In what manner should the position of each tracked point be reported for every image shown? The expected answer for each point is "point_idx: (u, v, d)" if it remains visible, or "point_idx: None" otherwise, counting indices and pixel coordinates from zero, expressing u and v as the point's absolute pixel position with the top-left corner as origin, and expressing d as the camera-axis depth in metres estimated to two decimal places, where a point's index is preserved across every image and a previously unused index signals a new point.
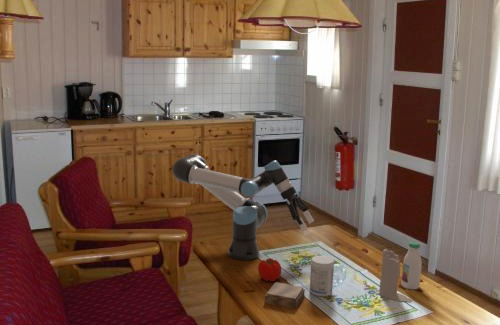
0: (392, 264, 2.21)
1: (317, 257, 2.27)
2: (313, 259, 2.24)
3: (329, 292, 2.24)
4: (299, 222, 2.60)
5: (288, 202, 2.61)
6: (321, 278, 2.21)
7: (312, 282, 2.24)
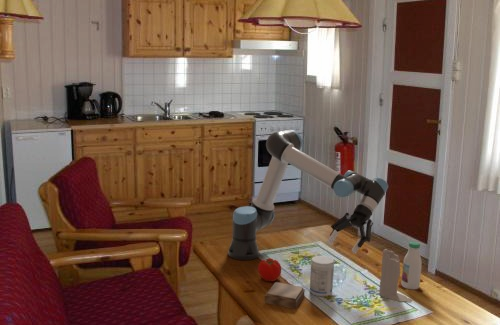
0: (392, 264, 2.21)
1: (317, 257, 2.27)
2: (313, 259, 2.24)
3: (329, 292, 2.24)
4: (361, 244, 2.26)
5: (371, 222, 2.31)
6: (321, 278, 2.21)
7: (312, 282, 2.24)
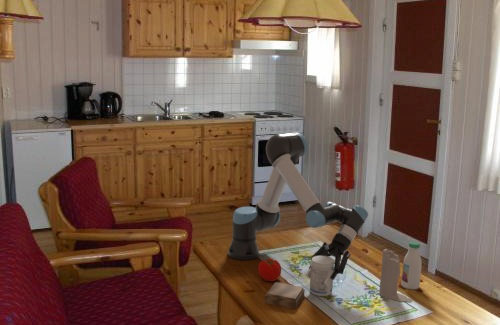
0: (392, 264, 2.21)
1: (317, 257, 2.27)
2: (313, 259, 2.24)
3: (329, 292, 2.24)
4: (334, 277, 2.21)
5: (348, 254, 2.24)
6: (321, 277, 2.21)
7: (312, 282, 2.24)
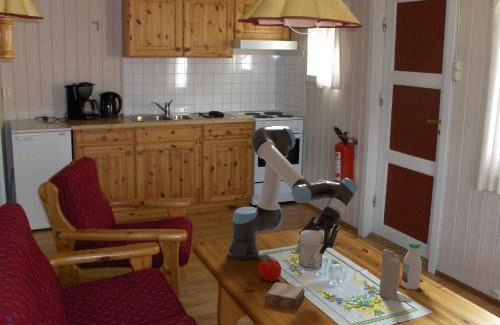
0: (392, 264, 2.21)
1: (306, 231, 2.20)
2: (302, 233, 2.18)
3: (319, 267, 2.17)
4: (323, 251, 2.14)
5: (338, 228, 2.18)
6: (311, 252, 2.15)
7: (301, 257, 2.17)
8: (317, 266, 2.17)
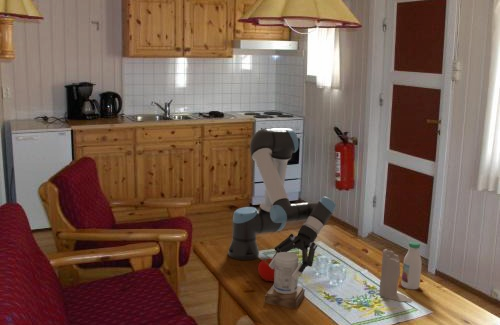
0: (392, 264, 2.21)
1: (281, 253, 2.18)
2: (277, 255, 2.16)
3: (293, 290, 2.15)
4: (302, 269, 2.11)
5: (315, 246, 2.15)
6: (285, 275, 2.12)
7: (276, 279, 2.15)
8: (292, 289, 2.14)
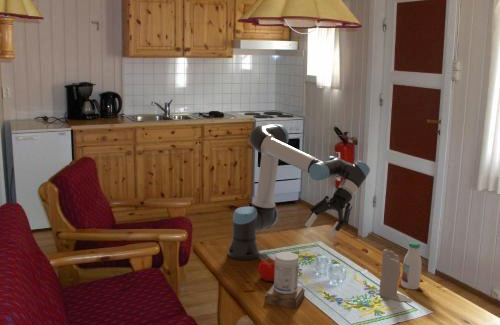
0: (392, 264, 2.21)
1: (281, 253, 2.18)
2: (277, 255, 2.16)
3: (293, 290, 2.15)
4: (339, 228, 2.22)
5: (350, 206, 2.26)
6: (285, 274, 2.12)
7: (276, 279, 2.15)
8: (292, 289, 2.14)
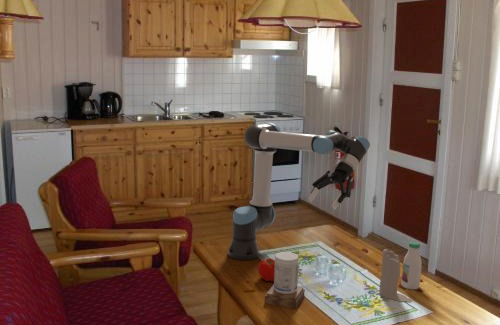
0: (392, 264, 2.21)
1: (281, 253, 2.18)
2: (277, 255, 2.16)
3: (293, 290, 2.15)
4: (341, 200, 2.26)
5: (352, 179, 2.30)
6: (285, 275, 2.12)
7: (276, 279, 2.15)
8: (292, 289, 2.14)
